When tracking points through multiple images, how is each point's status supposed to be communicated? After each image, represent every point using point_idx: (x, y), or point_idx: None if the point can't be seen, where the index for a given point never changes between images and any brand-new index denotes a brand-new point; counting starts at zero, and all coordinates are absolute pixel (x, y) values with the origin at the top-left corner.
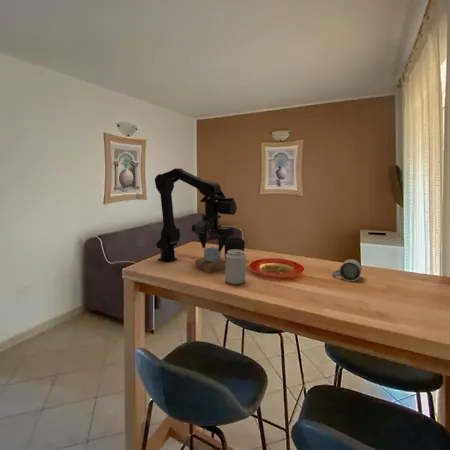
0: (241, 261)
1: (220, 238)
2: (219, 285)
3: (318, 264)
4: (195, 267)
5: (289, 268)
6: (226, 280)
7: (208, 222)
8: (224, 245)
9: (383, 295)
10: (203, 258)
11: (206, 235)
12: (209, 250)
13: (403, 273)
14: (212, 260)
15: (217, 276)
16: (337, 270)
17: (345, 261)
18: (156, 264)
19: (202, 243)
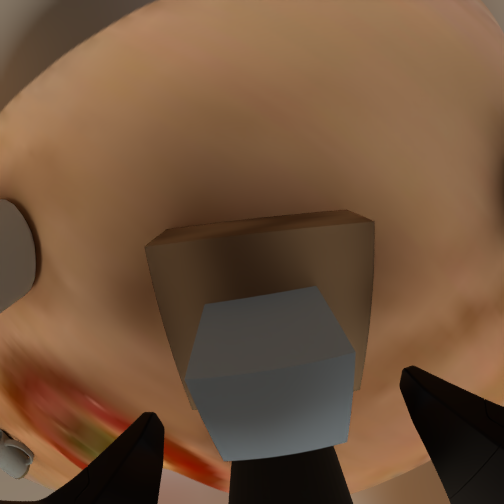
0: None
1: (5, 502)
2: (11, 152)
3: None
4: (346, 210)
5: None
6: (2, 200)
7: None
8: (337, 488)
9: None
10: (356, 307)
11: (452, 499)
12: (250, 368)
13: (34, 479)
14: (207, 311)
15: (97, 222)
16: (30, 461)
17: (8, 468)
18: (501, 100)
19: (436, 396)
